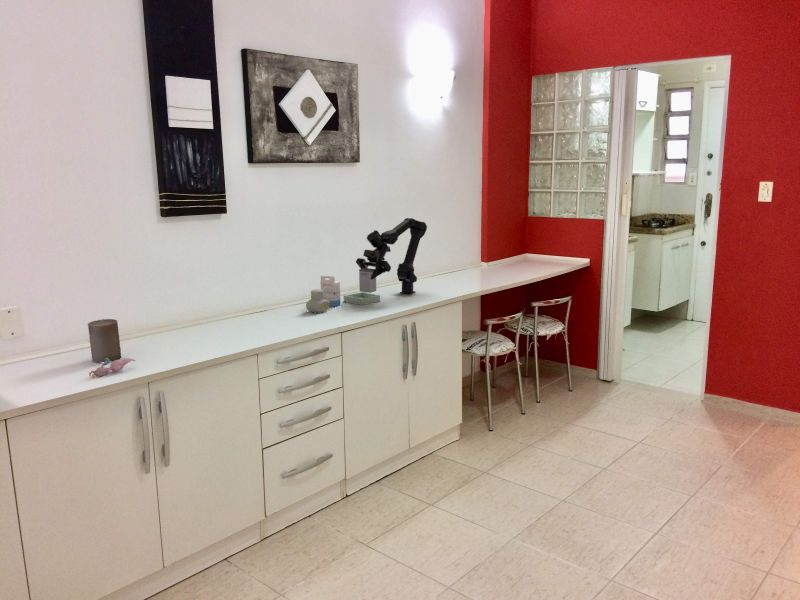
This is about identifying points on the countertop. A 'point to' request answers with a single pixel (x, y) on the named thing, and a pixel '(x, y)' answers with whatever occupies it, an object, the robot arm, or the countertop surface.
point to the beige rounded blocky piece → (317, 302)
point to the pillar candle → (104, 340)
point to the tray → (361, 298)
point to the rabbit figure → (111, 366)
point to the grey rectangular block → (367, 280)
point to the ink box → (331, 290)
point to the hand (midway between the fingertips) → (365, 278)
